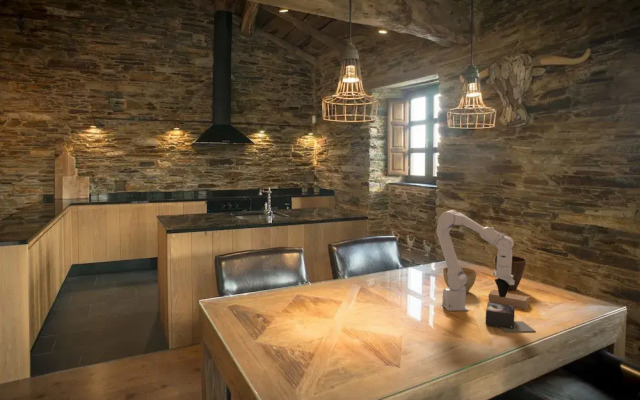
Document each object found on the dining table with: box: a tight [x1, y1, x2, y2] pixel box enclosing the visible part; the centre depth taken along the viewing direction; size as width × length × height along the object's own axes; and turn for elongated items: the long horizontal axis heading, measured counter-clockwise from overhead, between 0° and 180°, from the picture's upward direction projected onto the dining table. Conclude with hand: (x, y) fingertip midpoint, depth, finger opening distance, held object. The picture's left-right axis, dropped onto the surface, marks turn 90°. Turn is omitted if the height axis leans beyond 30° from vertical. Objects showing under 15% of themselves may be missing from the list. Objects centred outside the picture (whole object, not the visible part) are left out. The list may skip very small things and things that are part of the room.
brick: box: [487, 289, 530, 310], centre depth 194 cm, size 16×8×5 cm, turn 54°
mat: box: [499, 320, 536, 333], centre depth 166 cm, size 12×10×1 cm
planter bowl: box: [442, 266, 478, 294], centre depth 210 cm, size 16×16×11 cm
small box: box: [484, 301, 516, 329], centre depth 170 cm, size 11×6×10 cm
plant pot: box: [494, 255, 527, 292], centre depth 216 cm, size 15×15×16 cm
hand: (502, 296), depth 176 cm, fingers closed
